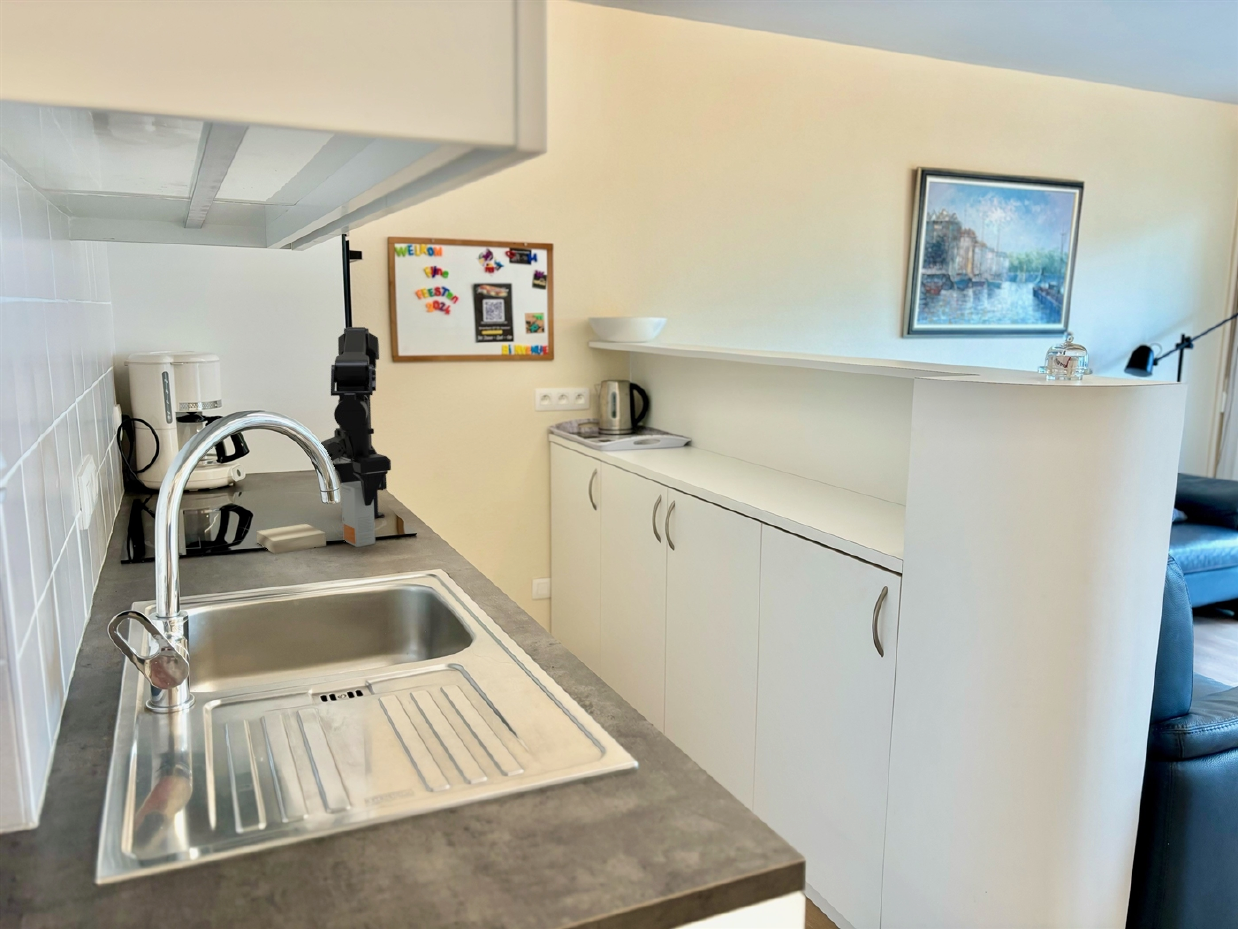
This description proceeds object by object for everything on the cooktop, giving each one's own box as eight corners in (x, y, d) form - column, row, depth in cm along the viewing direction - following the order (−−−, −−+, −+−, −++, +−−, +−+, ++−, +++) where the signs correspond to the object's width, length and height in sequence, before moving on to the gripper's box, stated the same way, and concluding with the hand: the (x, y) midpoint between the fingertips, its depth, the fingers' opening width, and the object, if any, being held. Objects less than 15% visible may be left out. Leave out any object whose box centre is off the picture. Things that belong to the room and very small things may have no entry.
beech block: (257, 545, 179) (256, 531, 178) (306, 537, 185) (306, 523, 185) (274, 556, 171) (273, 541, 171) (326, 547, 177) (325, 532, 177)
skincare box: (342, 541, 181) (339, 483, 179) (362, 538, 183) (359, 480, 181) (356, 547, 176) (353, 487, 174) (376, 544, 179) (374, 484, 177)
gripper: (295, 421, 178) (299, 499, 180) (334, 432, 164) (338, 515, 166) (349, 417, 185) (352, 492, 187) (390, 427, 171) (393, 507, 173)
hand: (357, 501), depth 178 cm, fingers open, 9 cm apart
